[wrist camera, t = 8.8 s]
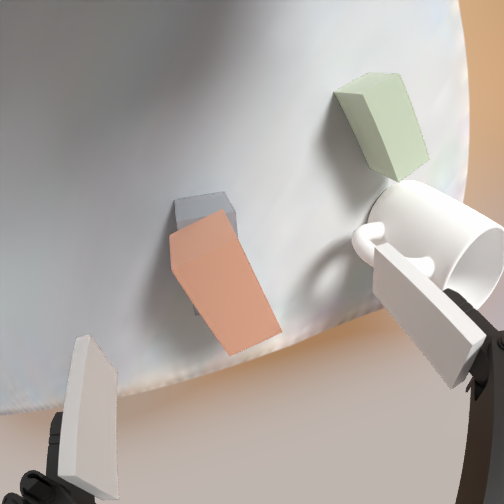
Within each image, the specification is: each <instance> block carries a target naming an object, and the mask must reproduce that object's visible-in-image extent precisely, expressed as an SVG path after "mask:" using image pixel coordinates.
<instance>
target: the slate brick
mask: <svg viewBox="0 0 504 504" xmlns="http://www.w3.org/2000/svg"><path fill="white" fill-rule="evenodd" d="M174 203H175V215H176V224H177V229H178V230H180V229H182V228H184V227H186V226H188V225H190V224H192V223H194V222H196V221H198V220H200V219H202V218H205V217H207V216H209V215H211V214H213V213H215V212H217V211H219V210H221V209H223V210H224V212H225V214H226V216H227V218H228V220H229V222H230V224H231V226H232V228H233V230H234V232H235V234H236V236H237V238H238V233H237V222H236V212H235V210H234V208H233V206H232V204H231V203H230V201H229V199H228V198H227V196H226V194H225V192H218V193H212V194H206V195H200V196H194V197H188V198H182V199H177V200H174ZM193 307H194V311H195V315H199V314H200V313H199V312H198V310H197V309H196V307H195V306H194V304H193Z"/></svg>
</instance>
